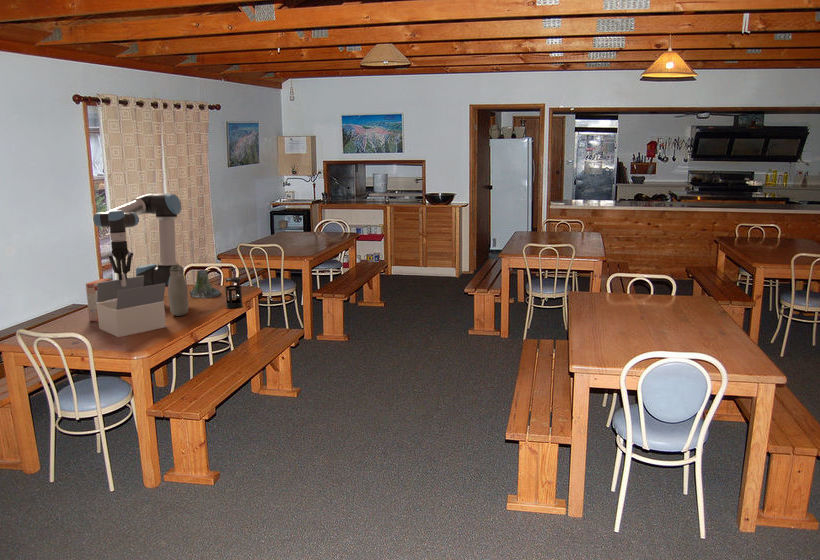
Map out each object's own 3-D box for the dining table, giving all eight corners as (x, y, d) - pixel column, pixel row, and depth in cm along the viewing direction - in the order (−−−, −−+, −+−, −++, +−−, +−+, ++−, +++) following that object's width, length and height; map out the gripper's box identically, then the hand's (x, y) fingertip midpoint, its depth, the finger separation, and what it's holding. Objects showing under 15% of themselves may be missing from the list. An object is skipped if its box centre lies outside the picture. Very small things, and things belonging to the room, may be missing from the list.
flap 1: (98, 283, 349) (97, 282, 349) (97, 301, 353) (97, 301, 353) (143, 275, 366) (143, 275, 366) (142, 293, 370) (142, 293, 370)
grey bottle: (169, 318, 375) (164, 267, 369) (172, 313, 385) (168, 264, 379) (187, 317, 376) (183, 267, 371) (190, 312, 386) (186, 263, 380)
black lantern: (238, 309, 392) (235, 270, 387) (222, 309, 393) (220, 269, 389) (246, 304, 403) (244, 266, 398) (231, 304, 405) (229, 265, 400)
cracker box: (98, 322, 369) (94, 283, 364) (88, 321, 370) (84, 283, 366) (115, 315, 382) (111, 278, 378) (105, 314, 383) (101, 278, 379)
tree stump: (191, 300, 416) (187, 271, 416) (189, 301, 435) (184, 273, 435) (222, 296, 423) (218, 267, 423) (218, 297, 442) (214, 269, 442)
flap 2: (165, 282, 350) (165, 283, 349) (162, 300, 355) (163, 301, 354) (118, 290, 333) (118, 291, 332) (116, 309, 338) (116, 309, 337)
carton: (145, 319, 373) (143, 294, 371) (166, 326, 358) (163, 301, 355) (99, 328, 356) (96, 303, 353) (118, 337, 340) (115, 310, 337)
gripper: (109, 242, 346) (114, 288, 350) (134, 239, 355) (139, 284, 359) (102, 241, 351) (107, 287, 355) (128, 239, 360) (132, 283, 364)
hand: (123, 285), depth 357 cm, fingers closed
